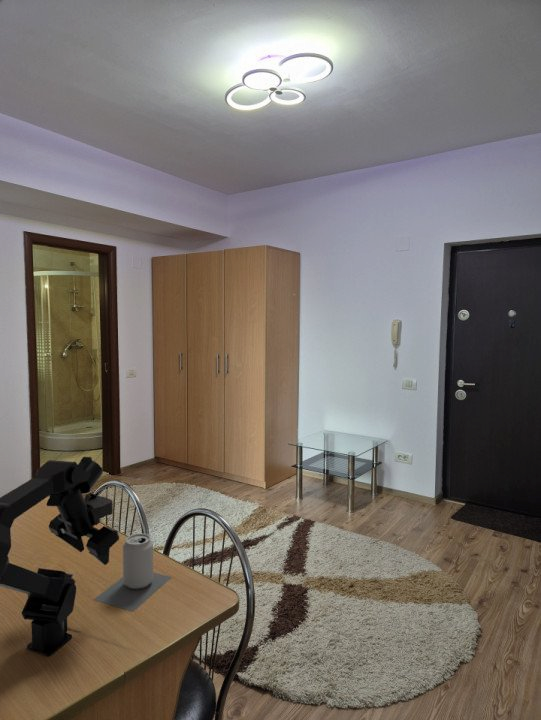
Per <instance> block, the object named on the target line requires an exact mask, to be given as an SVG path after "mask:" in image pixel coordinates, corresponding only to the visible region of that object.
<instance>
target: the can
mask: <svg viewBox="0 0 541 720" xmlns="http://www.w3.org/2000/svg"><path fill="white" fill-rule="evenodd" d="M122 570H123V572H122V573H123V575H122V577H123V583H124V584H125V585H126V586H127V587H129V588H131V589H141V588H144V587H146V586H147V585H149V583H150V582H152V580H153V572H154V542H153V540H152V539H151V535H149V534H148V533H144V532H143V533H141V532H138V533H135V534H131V535H129V536H126V538H125V542H124V543H123V545H122Z"/></svg>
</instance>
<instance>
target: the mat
mask: <svg viewBox="0 0 541 720" xmlns="http://www.w3.org/2000/svg"><path fill="white" fill-rule="evenodd" d="M172 578H173V576H169V575H164V574H161V573H157V572H154V571H153V580H152V582H150V583H149V585H148V586H147V587H145V588H142V589H131V588H129V587H127V586H126V585H125V584H124V583H123V576H122V577H120V579H119V580H117V581H116V582H114V583H113V584H112V585H110V586H109V587H108V588H106V589H105V590H104V591H103V592H101V593H100V594H99V595H98V596H96V597H95V598H94V599H93V601H96V602H99V603H102V604H106V605H108V606H109V605H110V606H114V607H117V608H120V609H123V610H126V611H129V612H135V611H136V610H137V609H138V608H139V607H140V606H141V605H143V604H144V603H146V601H147V600H148V599H150V597H152V596H153V595H154V594H155V593H156V592H158V590H159V589H160V588H162V587H163V586H164V585H165V584H166V583H167V582H169V581H170V580H171V579H172Z"/></svg>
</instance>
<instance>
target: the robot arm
mask: <svg viewBox="0 0 541 720" xmlns="http://www.w3.org/2000/svg"><path fill="white" fill-rule="evenodd" d="M103 472H104V470H103V468H102V467H101V466H100V464H99V463H98V462H96V461H95V460H93V459H92V457H91V456H83V457H82V458H81V460H79V463H77V462H76V461H67V460H56V459H55V460H54V459H50V460H48V461H46V462H44V464H42V465H41V466H40V467H39V468H38V469H37V470H36V474H35V476H34V477H32V478H31V479H29V480H27V481H25V482H24V483H22V484H21V485H19V486H18V487H16V488H14V489H12V490H10V491H9V492H7V493H6V494H4V495H2V496H0V587H2V588H5V589H9V590H12V591H16V592H18V593H19V592H20V593H23V594H25V595H27V600H26V602H25V604H24V605H23V606H24V607H23V609H22V610H21V615H22V618H23V619H24V620H26V621H27V620H30V621H31V623H30V626H31V627H30V628H31V642H29V643H28V644H27V645H26V649H28V650H29V651H33V652H36V653H39V654H41V655H44V656H47V657H50V656H52V655H53V654H54V653H55V652H56V651H58V650H59V649H60V648H62V646H64V645H65V644H66V643H68V642H69V641H70V640H71V639H72V638H73V634H71V633H69V632H68V629H69V628H68V617H69V616H70V615H71V614H72V613H73V612H74V607H75V601H76V595H77V586H76V580H75V579H74V578H73V574H72V573H66V572H65V571H64V570H57V569H50V568H49V569H47V568H41V567H40V568H37V572H36V571H33V570H30V569H27V568H24V567H22V566H19V565H16V564H14V563H11V562H10V557H9V553H10V551H11V548H12V536H11V532H12V531H11V529H12V527H13V524H14V521H15V520H16V519H17V518H19V517H20V516H22V515H23V514H24V513H26V512H27V511H29V510H31V509H32V508H33V507H34V506H37V505H38V504H39V503H41V502H42V501H44V500H45V499H46V498H48V500H47V502H46V507H56V509H57V510H58V512H59V514H57V516H55V517H54V518H53V519H51V520H50V522H49V524H48V528H49V530H50V533H52V534H54V535H55V537H57V538H58V539H60V540H61V541H64V543H66V544H68V545H69V546H71V547H73V548H74V549H75V550H77V551H78V552H79V553H83V552H84V551H85V546H86V549H87V550H88V553H89V555H91V556H93V557H94V558H95V559H96V560H97V561H99V562H100V563H101V564H103V565H105V566H106V565H107V564H109V562H110V550H111V548H112V547H113V546H114V545H115V544H116V543H117V542H118V541H119V540H120V535H119V532H118V530H116V529H114V528H112V527H110V526H105V525H103V526H102V527H101V528H100V529H98V528H97V527H95V526H97V525H98V524H100V523H101V521H100V520H101V519H103V518H105V517H107V516H110V515H112V514H114V512H113V511H114V510H113V507H114V506H113V505H114V504H113V503H114V501H113V499H110V498H108V497H106V496H100V495H96V494H95V493H93V492H91V490H92V489H93V488H94V486H95V485H96V484H97V483H98V481H99V479H100V478H101V477H102V475H103V474H104V473H103ZM83 494H85V497H84V495H83ZM83 537H87V538H89V539H87V542H86V544H85V545H84V542H83Z"/></svg>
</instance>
